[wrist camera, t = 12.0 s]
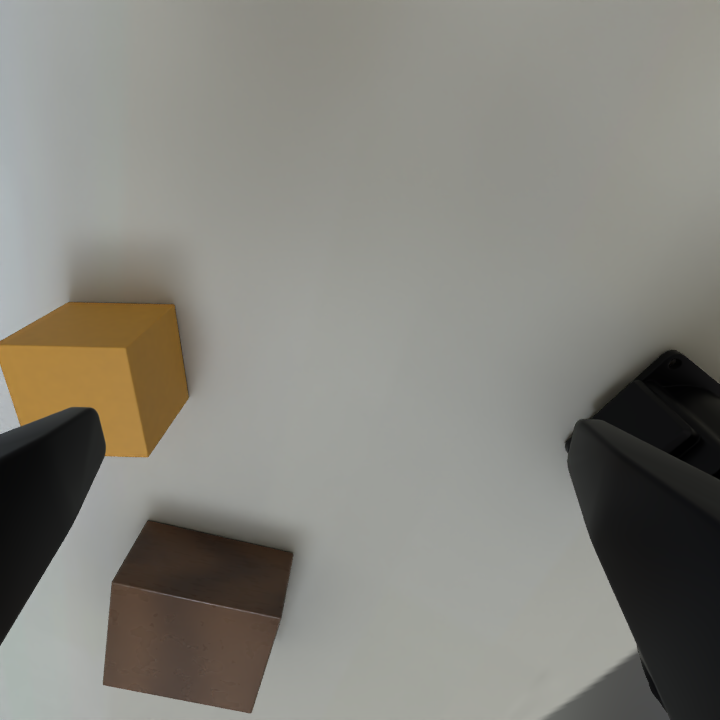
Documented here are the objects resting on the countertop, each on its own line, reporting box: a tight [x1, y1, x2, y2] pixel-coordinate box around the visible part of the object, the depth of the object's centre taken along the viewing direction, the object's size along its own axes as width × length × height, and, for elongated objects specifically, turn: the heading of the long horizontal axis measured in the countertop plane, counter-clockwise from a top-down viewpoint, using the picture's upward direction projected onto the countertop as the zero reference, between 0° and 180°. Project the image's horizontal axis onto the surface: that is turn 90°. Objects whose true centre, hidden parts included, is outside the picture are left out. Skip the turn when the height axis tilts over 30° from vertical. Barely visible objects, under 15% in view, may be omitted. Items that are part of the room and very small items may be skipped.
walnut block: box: [103, 521, 293, 713], centre depth 26 cm, size 8×8×4 cm
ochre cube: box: [0, 302, 189, 457], centre depth 20 cm, size 5×5×5 cm
